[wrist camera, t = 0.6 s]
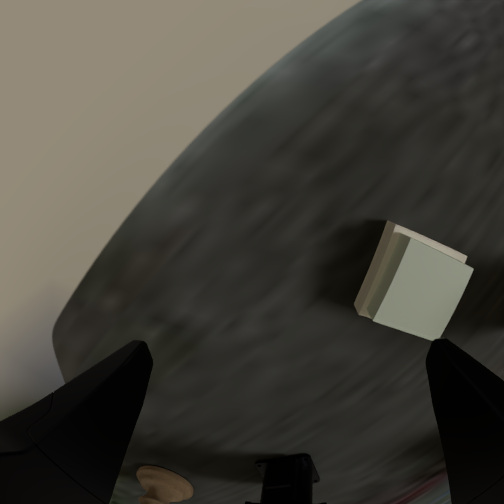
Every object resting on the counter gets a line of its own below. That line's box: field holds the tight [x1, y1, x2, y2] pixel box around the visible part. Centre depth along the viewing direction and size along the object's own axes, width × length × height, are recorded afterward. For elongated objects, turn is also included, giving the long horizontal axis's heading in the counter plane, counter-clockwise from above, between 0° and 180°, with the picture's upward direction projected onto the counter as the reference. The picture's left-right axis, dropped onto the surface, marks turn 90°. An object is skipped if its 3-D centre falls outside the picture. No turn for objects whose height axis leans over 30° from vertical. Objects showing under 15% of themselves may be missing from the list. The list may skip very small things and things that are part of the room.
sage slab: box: [367, 233, 474, 341], centre depth 18 cm, size 6×6×2 cm
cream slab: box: [354, 221, 467, 318], centre depth 21 cm, size 7×7×2 cm
